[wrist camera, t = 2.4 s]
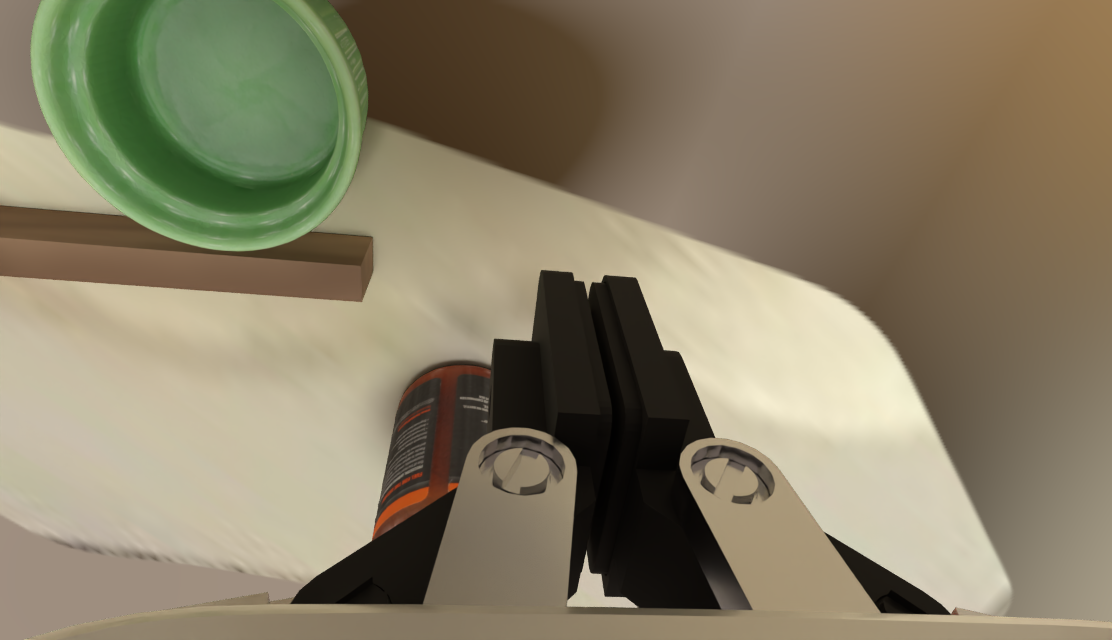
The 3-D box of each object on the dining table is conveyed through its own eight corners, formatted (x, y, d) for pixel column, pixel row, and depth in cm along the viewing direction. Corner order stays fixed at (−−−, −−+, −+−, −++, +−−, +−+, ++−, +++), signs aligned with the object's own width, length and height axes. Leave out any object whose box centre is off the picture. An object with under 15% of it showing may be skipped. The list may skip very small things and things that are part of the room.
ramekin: (303, -117, 20) (256, -124, 16) (425, 157, 25) (411, 201, 21) (47, -13, 21) (-52, 4, 17) (211, 233, 26) (161, 287, 22)
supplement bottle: (386, 443, 32) (334, 676, 22) (415, 344, 29) (369, 560, 19) (506, 468, 33) (507, 697, 23) (544, 376, 30) (563, 593, 21)
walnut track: (-451, -280, 17) (-640, -318, 14) (364, -155, 20) (340, -166, 17) (-196, 230, 24) (-287, 271, 22) (373, 274, 27) (357, 316, 24)
